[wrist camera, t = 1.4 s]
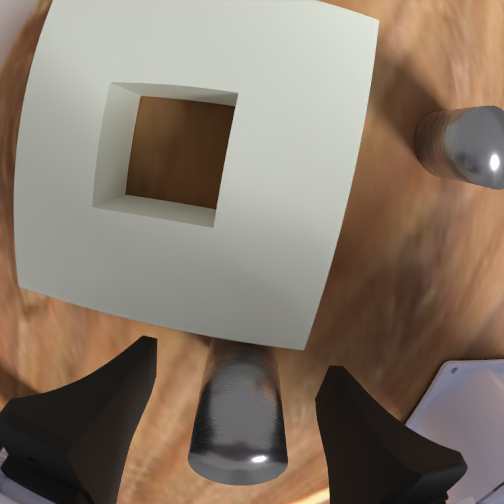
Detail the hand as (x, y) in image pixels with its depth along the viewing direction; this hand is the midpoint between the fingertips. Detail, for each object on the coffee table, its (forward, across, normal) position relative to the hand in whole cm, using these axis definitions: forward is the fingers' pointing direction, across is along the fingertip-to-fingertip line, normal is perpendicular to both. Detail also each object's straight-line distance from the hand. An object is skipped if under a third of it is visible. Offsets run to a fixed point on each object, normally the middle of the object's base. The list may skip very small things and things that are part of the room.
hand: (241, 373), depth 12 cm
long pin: (+2, 0, 0) cm, 2 cm away
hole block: (+2, +4, -8) cm, 9 cm away
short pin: (+2, -7, -11) cm, 13 cm away
